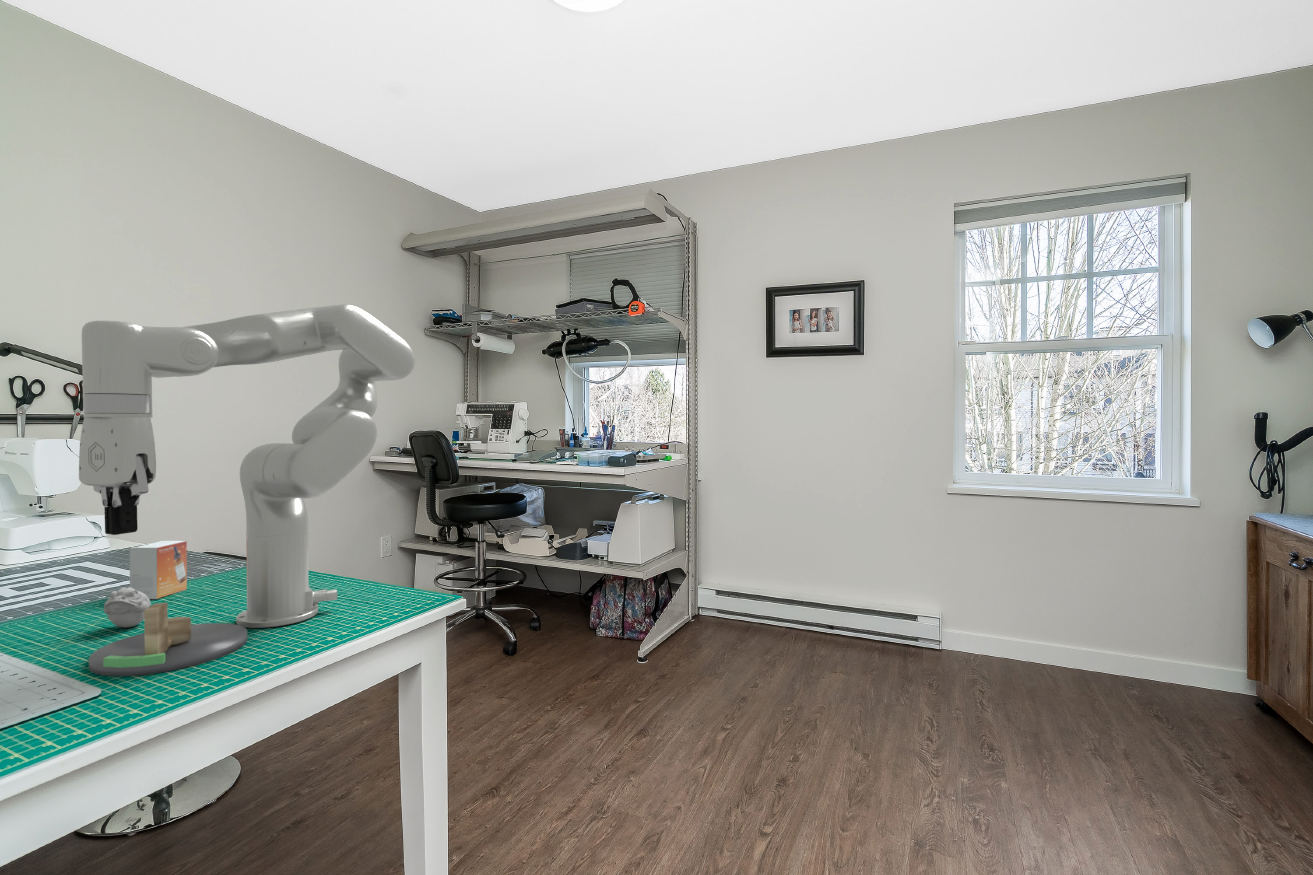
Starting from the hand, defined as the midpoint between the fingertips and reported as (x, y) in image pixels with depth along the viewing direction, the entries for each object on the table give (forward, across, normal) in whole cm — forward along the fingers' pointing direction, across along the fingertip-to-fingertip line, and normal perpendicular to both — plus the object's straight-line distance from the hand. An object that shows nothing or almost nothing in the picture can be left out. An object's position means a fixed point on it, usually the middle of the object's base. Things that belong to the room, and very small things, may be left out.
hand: (121, 532), depth 88 cm
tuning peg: (+18, +4, +3) cm, 18 cm away
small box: (+20, -35, +25) cm, 48 cm away
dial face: (+19, +2, +5) cm, 20 cm away
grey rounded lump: (+19, -18, +10) cm, 28 cm away
